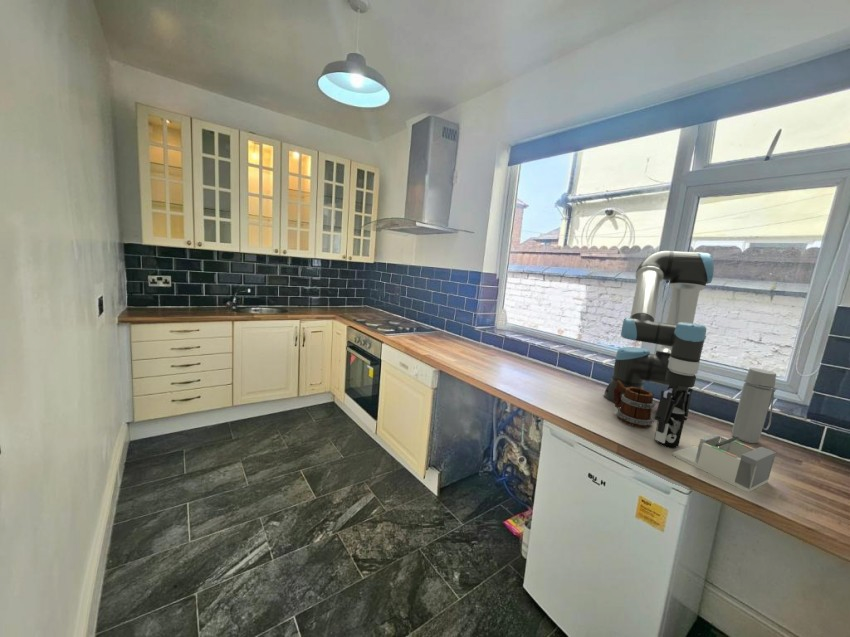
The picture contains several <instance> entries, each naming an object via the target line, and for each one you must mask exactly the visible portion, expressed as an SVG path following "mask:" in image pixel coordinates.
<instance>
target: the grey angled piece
mask: <svg viewBox="0 0 850 637" xmlns="http://www.w3.org/2000/svg"><path fill="white" fill-rule="evenodd" d="M720 440H721V435H720V434H717V433H714V434H710V435H708V436H704V437H702V438H700V440H699V443H698V446H697V447H698V451H697V456H696V461H699V457H700V453H701V448H702V444H703V443H706V444H708V445H711V446H715V447H717V448H719V446H721V445H723V447H722V450H724V451H726V452H729V449H730V445H731V443H730V442H732V441H737V440H739V438H738V437H734V436H733V437H731V438H728V440H725V441H723V442H720Z"/></svg>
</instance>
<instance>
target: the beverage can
mask: <svg viewBox="0 0 850 637" xmlns="http://www.w3.org/2000/svg"><path fill="white" fill-rule="evenodd" d="M684 423H685V415H684V411H683V410H681V409H679V408H676V407H674V409H673V411H672V414H671V416H670V418H669V421H668V424H669V427H668V431H667V436H666V440H665V443H662V442H659V441H657V440H655V442H656V443H657V444H659V445H660V444H661V445H660V446H662V445H663V447H665V446H666V447H665V448H668V447H669V448H670V449H676V448H677V447H679V445H680V441H681V436H682V432H683V428H684ZM657 426H658V422H657V423H656V427H655V432H654V437H653V438H654V439H655V435H656V430H657Z"/></svg>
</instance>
